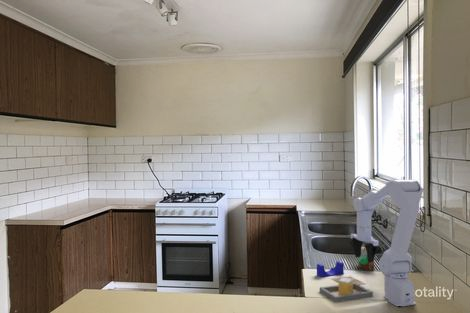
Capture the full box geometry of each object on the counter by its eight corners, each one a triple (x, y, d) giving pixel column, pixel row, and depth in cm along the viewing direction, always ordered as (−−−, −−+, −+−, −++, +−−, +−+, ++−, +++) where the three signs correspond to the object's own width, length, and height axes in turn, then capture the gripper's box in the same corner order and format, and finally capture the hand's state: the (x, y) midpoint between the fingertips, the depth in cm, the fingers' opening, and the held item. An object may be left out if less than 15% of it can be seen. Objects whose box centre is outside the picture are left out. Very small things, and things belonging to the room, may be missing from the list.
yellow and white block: (353, 294, 126) (353, 279, 126) (347, 298, 122) (347, 282, 122) (343, 291, 128) (343, 277, 128) (338, 295, 124) (338, 280, 124)
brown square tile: (366, 286, 135) (366, 284, 135) (345, 289, 132) (345, 286, 132) (350, 278, 145) (350, 276, 145) (330, 281, 142) (330, 278, 142)
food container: (352, 265, 165) (352, 244, 165) (365, 265, 164) (365, 244, 165) (361, 273, 152) (361, 250, 153) (374, 273, 152) (374, 251, 152)
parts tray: (372, 298, 123) (372, 292, 123) (335, 304, 118) (335, 297, 118) (354, 289, 132) (354, 282, 132) (319, 294, 127) (319, 287, 127)
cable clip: (336, 273, 152) (336, 260, 152) (343, 276, 148) (343, 262, 148) (314, 276, 148) (314, 263, 148) (321, 280, 143) (320, 265, 144)
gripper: (384, 229, 135) (384, 263, 135) (360, 223, 149) (360, 254, 149) (370, 230, 133) (370, 264, 133) (346, 224, 147) (346, 255, 146)
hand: (364, 259), depth 141 cm, fingers open, 7 cm apart
